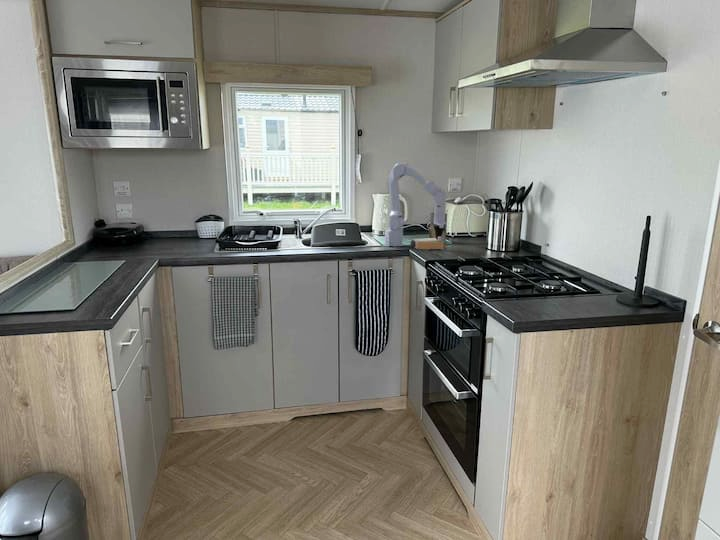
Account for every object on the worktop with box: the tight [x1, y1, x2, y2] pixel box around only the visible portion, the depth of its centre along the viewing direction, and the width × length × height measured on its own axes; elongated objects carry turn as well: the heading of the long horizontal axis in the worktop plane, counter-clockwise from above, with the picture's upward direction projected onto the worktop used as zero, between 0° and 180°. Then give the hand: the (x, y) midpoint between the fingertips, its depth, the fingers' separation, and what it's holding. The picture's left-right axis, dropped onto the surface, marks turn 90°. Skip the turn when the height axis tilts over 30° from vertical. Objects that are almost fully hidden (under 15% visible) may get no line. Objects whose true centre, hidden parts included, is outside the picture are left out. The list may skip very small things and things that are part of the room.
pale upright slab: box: [410, 237, 438, 250], centre depth 275 cm, size 15×7×4 cm, turn 109°
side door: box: [416, 236, 445, 251], centre depth 268 cm, size 14×2×7 cm, turn 91°
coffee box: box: [428, 212, 448, 244], centre depth 289 cm, size 9×6×16 cm
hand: (438, 239), depth 270 cm, fingers closed
